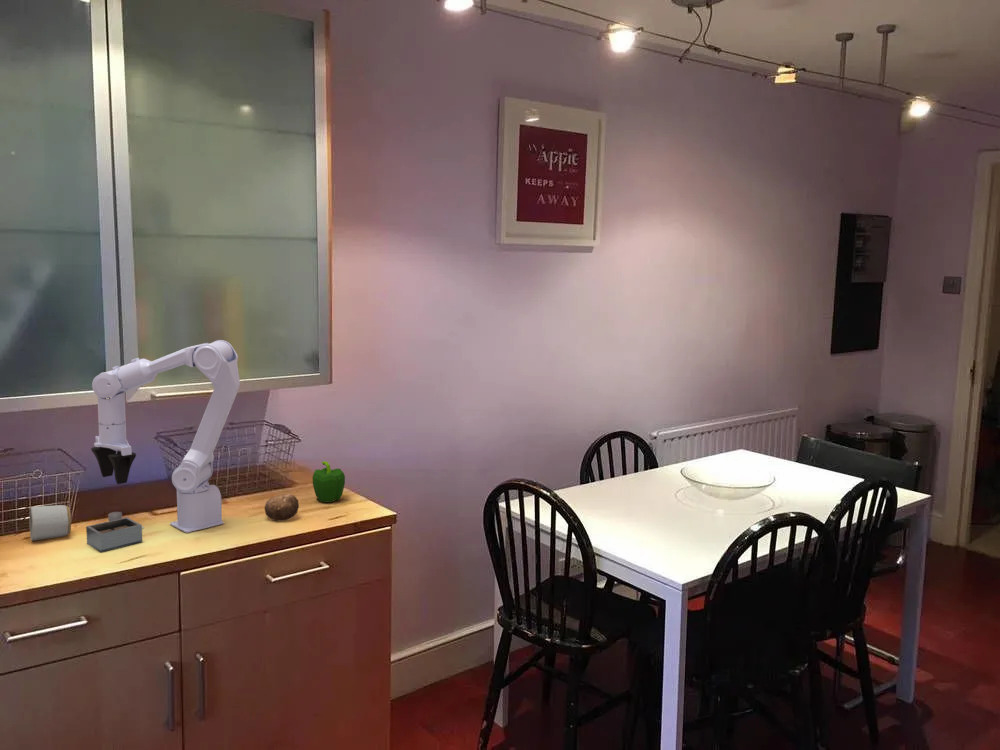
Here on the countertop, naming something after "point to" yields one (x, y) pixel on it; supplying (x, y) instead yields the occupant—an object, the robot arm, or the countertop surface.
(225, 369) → the robot arm
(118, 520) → the tin
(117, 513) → the lid
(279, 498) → the brown potato
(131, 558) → the countertop surface
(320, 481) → the bell pepper
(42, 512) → the ceramic mug
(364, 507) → the countertop surface
